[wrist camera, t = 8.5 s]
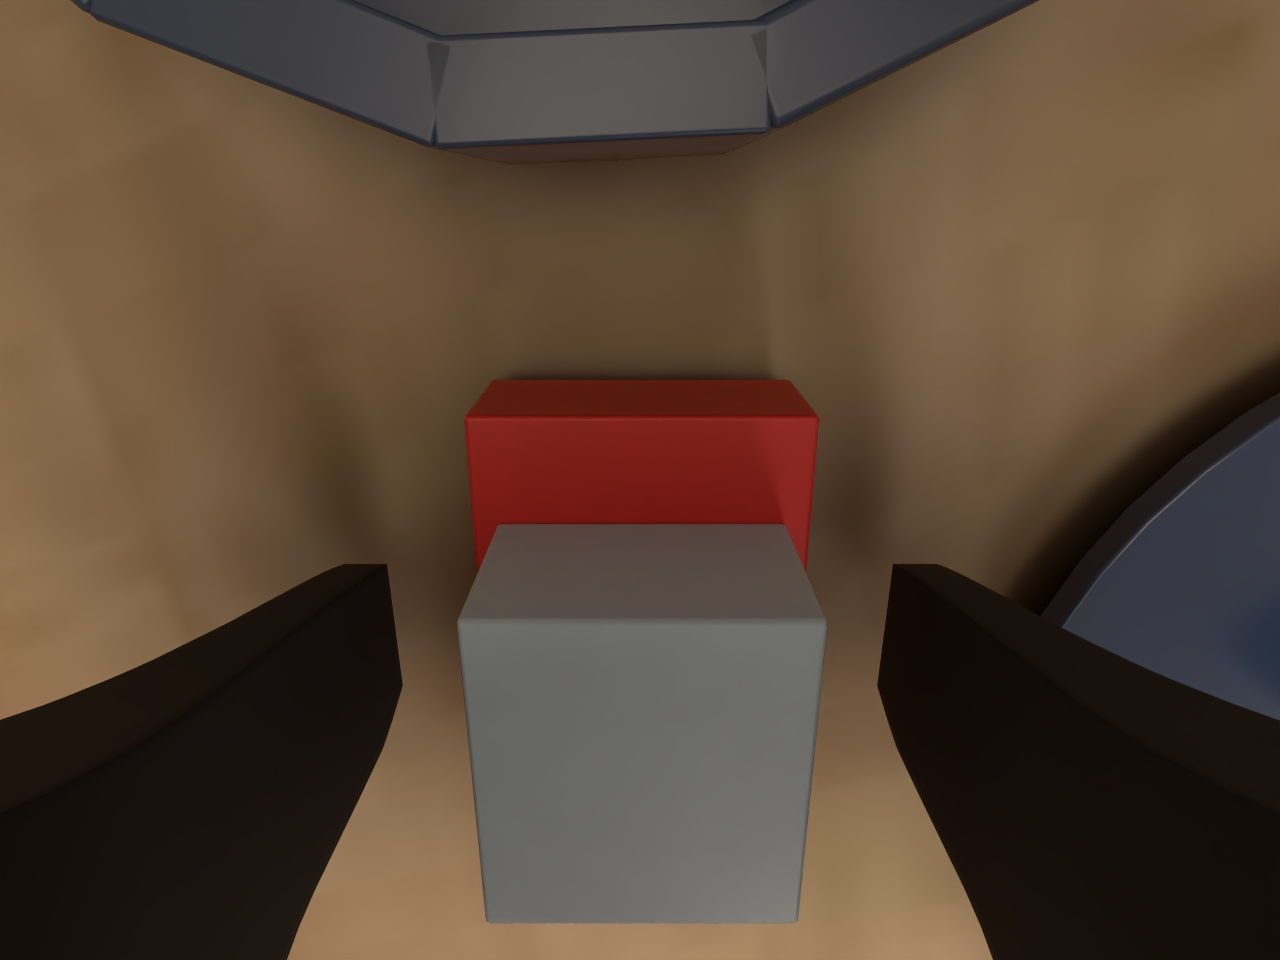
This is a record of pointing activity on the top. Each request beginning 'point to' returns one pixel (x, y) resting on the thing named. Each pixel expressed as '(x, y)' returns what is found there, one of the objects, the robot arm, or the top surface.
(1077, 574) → the lid
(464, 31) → the pot
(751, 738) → the toy car
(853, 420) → the top surface
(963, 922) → the top surface
